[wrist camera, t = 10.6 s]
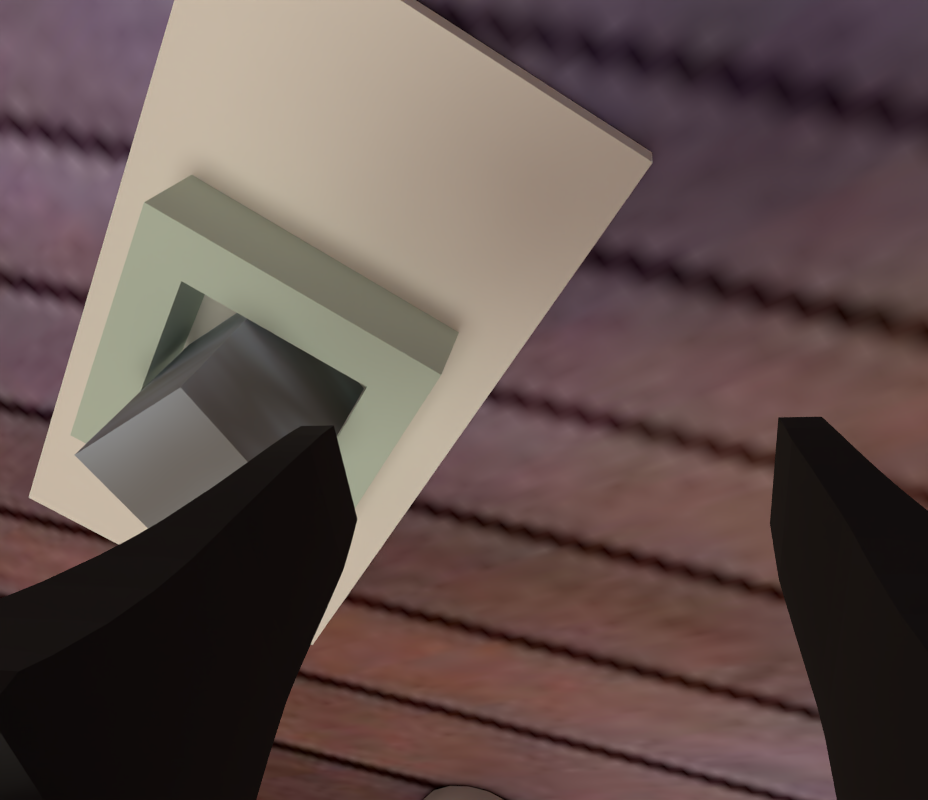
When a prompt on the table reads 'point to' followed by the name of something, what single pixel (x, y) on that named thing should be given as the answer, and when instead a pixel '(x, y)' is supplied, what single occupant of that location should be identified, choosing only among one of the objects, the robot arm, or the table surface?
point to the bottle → (461, 794)
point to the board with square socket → (337, 231)
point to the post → (213, 416)
